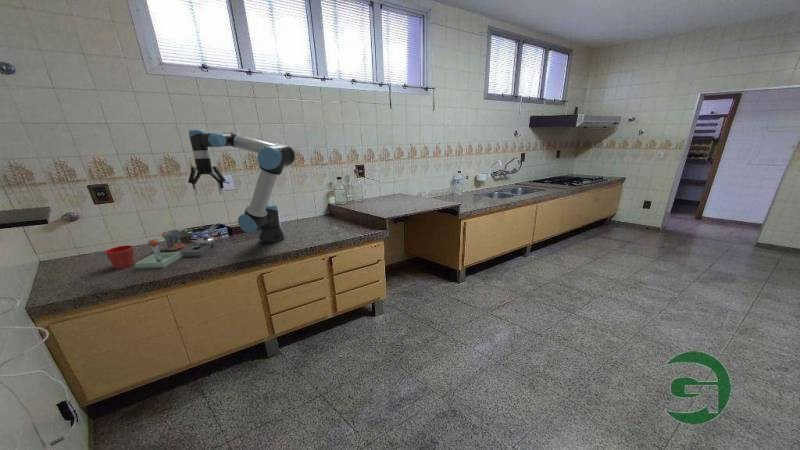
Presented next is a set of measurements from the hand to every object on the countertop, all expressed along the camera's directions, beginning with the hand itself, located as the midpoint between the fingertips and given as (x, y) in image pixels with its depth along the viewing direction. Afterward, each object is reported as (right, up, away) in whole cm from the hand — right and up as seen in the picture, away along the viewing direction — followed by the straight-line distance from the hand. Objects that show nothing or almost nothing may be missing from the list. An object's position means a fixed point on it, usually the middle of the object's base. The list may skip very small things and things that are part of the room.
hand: (210, 194), depth 177 cm
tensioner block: (-5, -33, +1) cm, 34 cm away
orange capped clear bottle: (-17, -38, -16) cm, 45 cm away
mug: (-24, -33, +5) cm, 41 cm away
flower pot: (-34, -40, -18) cm, 56 cm away
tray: (-17, -39, -16) cm, 45 cm away
